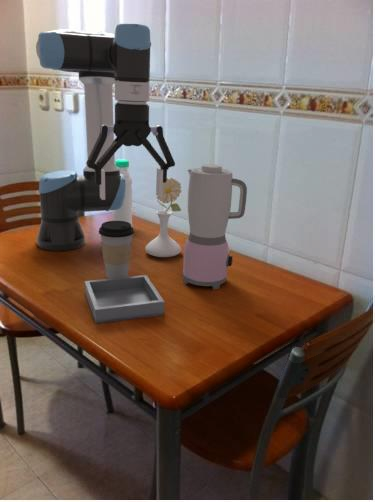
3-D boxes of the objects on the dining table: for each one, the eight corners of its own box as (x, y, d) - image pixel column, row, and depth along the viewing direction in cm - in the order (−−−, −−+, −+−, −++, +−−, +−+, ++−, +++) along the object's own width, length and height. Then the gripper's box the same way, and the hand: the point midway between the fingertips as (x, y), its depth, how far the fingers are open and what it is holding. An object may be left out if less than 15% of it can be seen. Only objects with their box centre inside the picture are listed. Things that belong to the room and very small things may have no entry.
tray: (85, 293, 117) (84, 281, 116) (146, 287, 122) (146, 275, 121) (95, 323, 103) (95, 309, 102) (163, 314, 108) (164, 301, 107)
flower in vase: (137, 252, 146) (138, 174, 138) (165, 245, 154) (167, 171, 145) (163, 265, 137) (165, 182, 129) (191, 257, 145) (195, 178, 136)
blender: (177, 286, 123) (181, 167, 112) (187, 270, 134) (192, 160, 123) (235, 294, 120) (246, 173, 109) (241, 277, 131) (251, 165, 120)
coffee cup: (127, 285, 123) (127, 231, 118) (94, 280, 124) (92, 227, 119) (138, 271, 132) (138, 221, 126) (107, 268, 133) (106, 218, 128)
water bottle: (125, 224, 174) (125, 157, 165) (135, 229, 169) (136, 160, 160) (109, 227, 170) (108, 159, 161) (119, 232, 165) (118, 162, 156)
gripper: (76, 102, 93) (79, 203, 101) (191, 105, 101) (186, 198, 109) (71, 99, 99) (75, 195, 107) (180, 102, 108) (176, 191, 115)
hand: (131, 197), depth 108 cm, fingers open, 13 cm apart
